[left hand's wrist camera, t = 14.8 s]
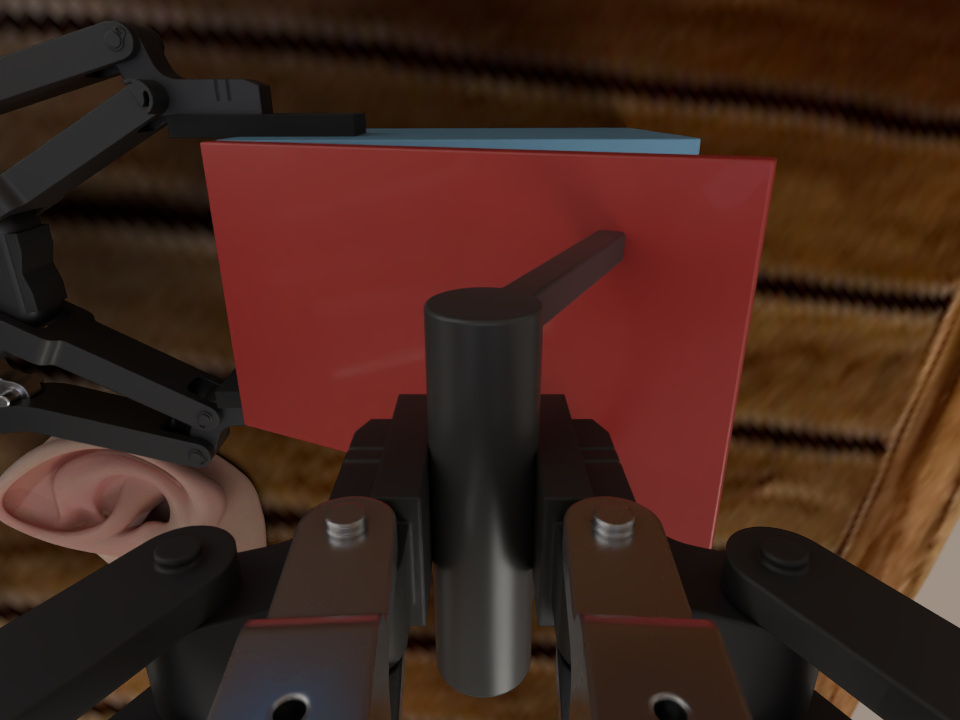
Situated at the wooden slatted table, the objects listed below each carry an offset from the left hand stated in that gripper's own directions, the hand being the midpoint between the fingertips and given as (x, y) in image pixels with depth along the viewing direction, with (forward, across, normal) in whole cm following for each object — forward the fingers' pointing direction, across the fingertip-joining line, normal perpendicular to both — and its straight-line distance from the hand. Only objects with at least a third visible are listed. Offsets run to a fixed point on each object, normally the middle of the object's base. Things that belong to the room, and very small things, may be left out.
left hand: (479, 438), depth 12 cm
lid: (+7, +1, 0) cm, 7 cm away
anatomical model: (+21, +19, +16) cm, 32 cm away
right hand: (+14, +4, 0) cm, 15 cm away
